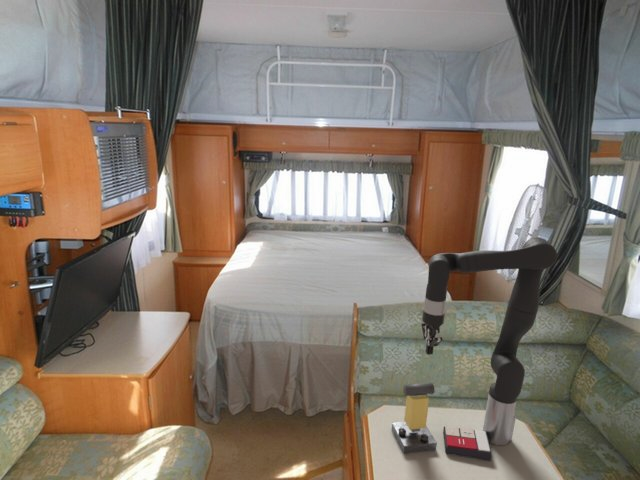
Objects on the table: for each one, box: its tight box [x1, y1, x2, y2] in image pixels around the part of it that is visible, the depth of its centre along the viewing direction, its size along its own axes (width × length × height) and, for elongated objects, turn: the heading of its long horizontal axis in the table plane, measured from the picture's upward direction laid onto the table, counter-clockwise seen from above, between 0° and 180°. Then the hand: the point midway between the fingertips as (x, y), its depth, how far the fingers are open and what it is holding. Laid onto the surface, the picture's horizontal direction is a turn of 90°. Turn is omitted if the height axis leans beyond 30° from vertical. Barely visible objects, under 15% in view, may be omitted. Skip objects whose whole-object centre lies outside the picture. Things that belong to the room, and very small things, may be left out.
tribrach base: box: [391, 421, 438, 454], centre depth 153 cm, size 12×12×4 cm
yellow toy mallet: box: [402, 382, 435, 432], centre depth 150 cm, size 10×5×18 cm, turn 101°
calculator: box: [442, 425, 492, 462], centre depth 151 cm, size 11×4×15 cm
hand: (429, 353), depth 155 cm, fingers closed
